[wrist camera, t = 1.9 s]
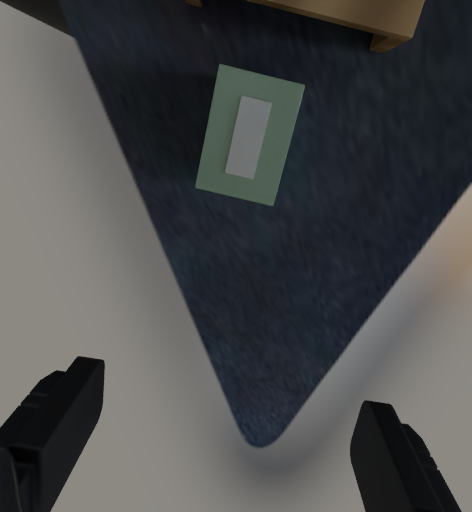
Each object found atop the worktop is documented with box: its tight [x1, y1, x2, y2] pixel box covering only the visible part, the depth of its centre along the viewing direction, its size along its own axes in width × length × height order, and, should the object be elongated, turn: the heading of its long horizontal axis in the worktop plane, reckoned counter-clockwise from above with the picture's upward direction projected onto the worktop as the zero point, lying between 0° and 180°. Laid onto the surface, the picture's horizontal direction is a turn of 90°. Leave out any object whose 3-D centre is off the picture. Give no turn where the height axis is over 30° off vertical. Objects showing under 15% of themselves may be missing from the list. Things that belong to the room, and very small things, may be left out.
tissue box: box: [195, 64, 305, 206], centre depth 30 cm, size 6×8×8 cm
